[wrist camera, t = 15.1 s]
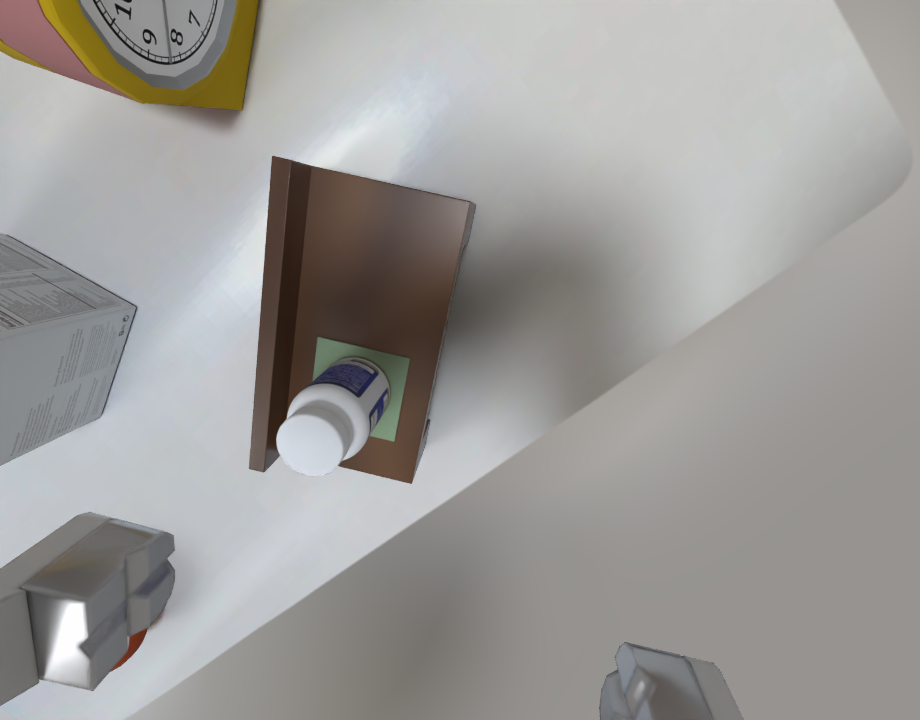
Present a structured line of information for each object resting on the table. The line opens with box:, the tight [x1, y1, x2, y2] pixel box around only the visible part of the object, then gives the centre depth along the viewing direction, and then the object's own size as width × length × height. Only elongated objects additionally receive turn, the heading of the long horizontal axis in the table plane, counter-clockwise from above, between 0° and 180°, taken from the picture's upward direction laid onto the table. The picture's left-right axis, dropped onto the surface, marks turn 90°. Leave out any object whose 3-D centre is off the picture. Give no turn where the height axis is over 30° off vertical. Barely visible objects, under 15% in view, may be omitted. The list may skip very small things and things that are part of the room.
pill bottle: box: [276, 358, 390, 476], centre depth 30 cm, size 5×5×9 cm
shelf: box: [249, 156, 476, 484], centre depth 34 cm, size 12×22×9 cm, turn 168°
